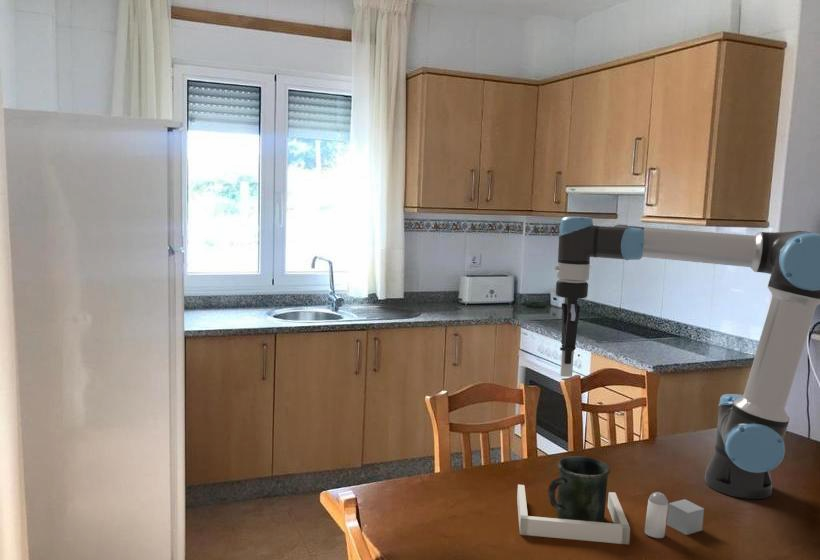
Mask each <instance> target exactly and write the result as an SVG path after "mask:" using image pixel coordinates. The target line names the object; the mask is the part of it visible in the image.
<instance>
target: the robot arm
mask: <svg viewBox="0 0 820 560" xmlns="http://www.w3.org/2000/svg"><path fill="white" fill-rule="evenodd" d="M557 248H558V250H557V251H558V252H557V253H558V254H557V265H555V267H554V270H556V271H557V272H556V273H557V274H556V278H557V279H558V280H556V283H555V296H556V297H560V298H564V303H563V302H562V303H561V310H562V311H561V320H562V322H561V323H562V324H561V340H560V342H561V347H559V350H560V351H561V357H560V374H559V375H560V377H568V378H569V377H570V378H572V377H573V369H574V368H573V367H574V366H573V365H574V351H575V350H576V347H577V346H576V344H577V343H576V342H577V331H578V323H579V317H580V311H581V309H580V308H581V305H579V304H578V300H579V299H586V298H587V297H588V293H589V292H588V291H589V283H588V282H587V281H589V279H590V269H591V268H590V267H591V264H590V262H591V261H590V259H591V258H601V259H615V260H626V261H629V260H630V261H631V260H632V261H634V260H635V261H636V260H641V259H642V258H650V259H661V260H670V261H671V260H672V261H681V262H682V261H684V262H692V263H703V264H712V265H713V264H714V265H724V266H735V267H744V268H745V267H746V268H750V269H752V271H753V272H754V273H764V274H769V275H770V277H769V281H768V284H767V289H768V290H769V291H770V293H771V295H772V298H771V301H770V305H769V307H768V311H767V314H766V318H765V320H764V324H763V328H762V331H761V335H760V338H759V341H758V345H757V349H756V351H755V355H754V358H753V362H752V365H751V369H750V371H749V375H748V378H747V382H746V384H745V388H744V392H743V394H739V393H738V394H737V393H725V394H722V395H721V396H720V398H719V404H718V415H717V426H716V436H715V445H714V447H715V448H714V452H713V455H712V456H711V459H710V461H709V463H708V465H707V467H706V469H705V472H704V483H706V485H707V486H708V487H710V489H713V490H714V491H717V492H719V493H721V494H725V495H727V496H731V497H734V498H739V499H745V500H760V499H761V500H762V499H767V498H769V497H770V496H771V495H772V492H773V482H772V477H771V471H772V470H774V469H776V468H777V467H778V466H779V465H780V464H781V462H782V461H783V460H784V457H785V453H786V445H785V444H786V443H785V441H784V438H785V436H786V432H787V429H788V425H789V423H790V417H789V415H788V413H787V412H786V409H785V408H786V404H787V403H788V399H789V395H790V392H791V389H792V385H793V382H794V379H795V377H796V373H797V369H798V367H799V364H800V363H799V362H800V361H801V358H802V354H803V350H804V347H805V345H806V344H805V343H806V341H807V338H808V334H809V331H810V327H811V325H812V323H813V322H812V321H813V318H814V315H815V311H816V309H817V307H818V306H819V305H820V233H818V232H811V231H806V230H805V231H802V230H797V231H779V232H778V231H777V232H776V231H775V232H768V231H767V232H765V231H759V232H757V233H756V234H755V235H753V234H752V235H751V234H737V233H727V232H726V233H725V232H724V233H723V232H713V231H712V232H711V231H698V230H689V229H688V230H687V229H685V230H684V229H676V228H675V229H672V228H662V227H648V226H647V227H646V226H645V227H644V226H634V225H627V224H616V225H614V226H599V225H594V223H593V218H592V217H590V216H564V217H562V218H561V220H560V226H559V234H558V247H557Z"/></svg>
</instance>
